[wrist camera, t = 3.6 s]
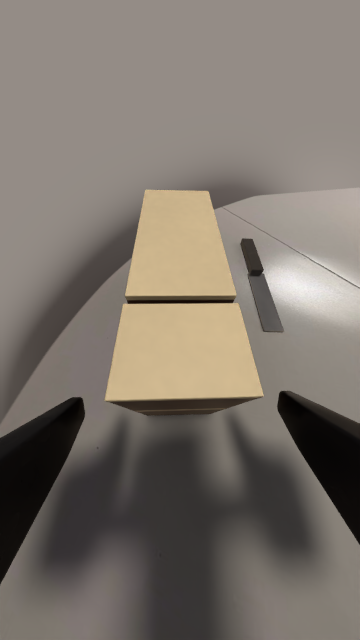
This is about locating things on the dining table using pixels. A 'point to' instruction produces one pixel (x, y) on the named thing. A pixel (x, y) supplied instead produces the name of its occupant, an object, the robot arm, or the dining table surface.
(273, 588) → the dining table surface
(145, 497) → the dining table surface
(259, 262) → the cake knife
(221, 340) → the cake slice
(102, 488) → the dining table surface
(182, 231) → the cake
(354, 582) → the dining table surface
